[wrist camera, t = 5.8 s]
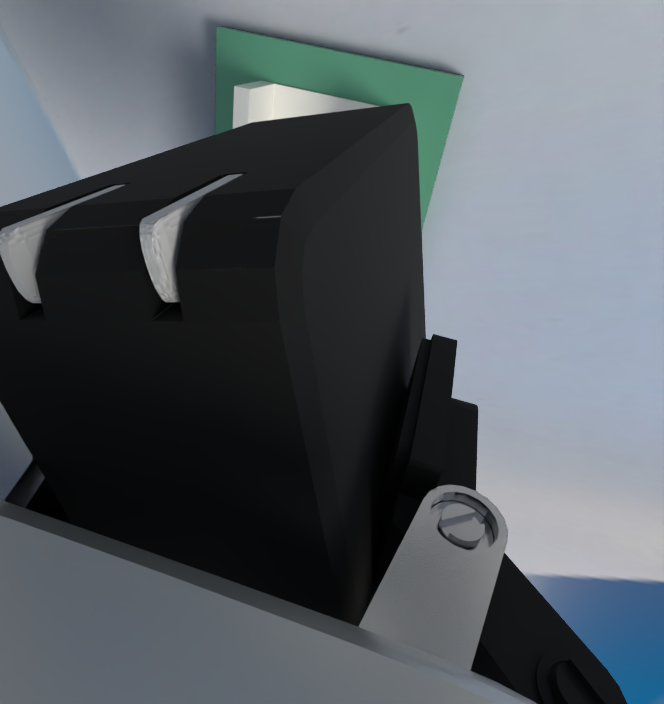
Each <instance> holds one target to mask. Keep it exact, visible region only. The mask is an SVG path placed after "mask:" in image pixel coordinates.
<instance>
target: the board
mask: <svg viewBox="0 0 664 704" xmlns="http://www.w3.org/2000/svg"><path fill="white" fill-rule="evenodd" d="M463 78H464V76H463V75H458V74H453V73H448V72H443V71H438V70H433V69H428V68H423V67H418V66H414V65H409V64H404V63H399V62H394V61H389V60H384V59H379V58H374V57H369V56H364V55H360V54H355V53H350V52H345V51H340V50H335V49H330V48H325V47H320V46H315V45H310V44H306V43H301V42H296V41H291V40H286V39H281V38H276V37H271V36H266V35H261V34H256V33H252V32H247V31H242V30H237V29H232V28H227V27H216V90H215V135H216V134H219V133H222V132H225V131H228V130H231V129H234V128H237V127H240V126H243V125H246V124H249V123H252V122H259V121H267V120H275V119H283V118H291V117H299V116H307V115H315V114H323V113H331V112H339V111H347V110H355V109H363V108H371V107H379V106H387V105H395V104H403V103H410V105H411V106H412V109H413V114H414V118H415V122H416V128H417V137H418V157H419V182H420V207H421V231H422V227H423V224H424V220H425V217H426V213H427V209H428V206H429V202H430V198H431V195H432V191H433V187H434V184H435V180H436V176H437V173H438V169H439V165H440V162H441V158H442V154H443V151H444V147H445V144H446V140H447V136H448V133H449V129H450V125H451V122H452V118H453V114H454V111H455V107H456V103H457V100H458V96H459V92H460V89H461V85H462V81H463Z"/></svg>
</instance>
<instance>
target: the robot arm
mask: <svg viewBox="0 0 664 704" xmlns="http://www.w3.org/2000/svg"><path fill="white" fill-rule="evenodd" d="M456 348H457V340H453V339H450V338H446V337H442V336H438V335H434V334H433V336H432V339H431V340H428V339H425V338H422V340H421V343H420V347H419V350H418V354H417V357H416V360H415V364H414V367H413V370H412V374H411V377H410V381H409V384H408V387H407V391H406V395H405V399H404V404H403V408H402V412H401V416H400V421H399V425H398V429H397V433H396V438H395V442H394V446H393V450H392V455H391V459H390V463H389V468H388V472H387V476H386V480H385V485H384V489H383V493H382V497H381V502H380V506H379V510H378V514H377V526H378V534H379V542H380V548H379V553H378V558H377V562H376V567H375V572H374V576H373V582H374V584H375V586H376V587H377V591H376V593H375V595H374V597H373V599H372V601H371V603H370V605H369V607H368V609H367V611H366V613H365V615H364V617H363V619H362V621H361V623H360V625H359V627H357V626H355V625H352V624H349V623H346V622H344V621H341V620H338V619H335V618H332V617H330V616H327V615H324V614H321V613H319V612H316V611H313V610H310V609H307V608H305V607H302V606H299V605H296V604H294V603H291V602H288V601H285V600H282V599H280V598H277V597H274V596H271V595H269V594H266V593H263V592H260V591H257V590H255V589H252V588H249V587H246V586H243V585H241V584H238V583H235V582H232V581H230V580H227V579H224V578H221V577H218V576H216V575H213V574H210V573H207V572H204V571H202V570H199V569H196V568H193V567H190V566H187V565H185V564H182V563H179V562H176V561H173V560H171V559H168V558H165V557H162V556H159V555H156V554H154V553H151V552H148V551H145V550H142V549H140V548H137V547H134V546H131V545H128V544H125V543H123V542H120V541H117V540H114V539H111V538H108V537H106V536H103V535H100V534H97V533H94V532H91V531H89V530H86V529H83V528H80V527H77V526H74V525H73V524H72V523H71V521H70V519H69V518H68V516H67V514H66V513H65V511H64V509H63V508H62V506H61V504H60V502H59V501H58V499H57V497H56V496H55V494H54V492H53V491H52V489H51V487H50V485H49V484H48V482H47V480H46V479H45V477H44V475H43V474H42V472H41V470H40V468H39V467H38V465H37V463H36V460H35V457H32V455H31V453H30V451H29V450H28V448H27V446H26V445H25V443H24V441H23V440H22V438H21V436H20V434H19V433H18V431H17V429H16V428H15V426H14V424H13V423H12V421H11V419H10V418H9V416H8V414H7V412H6V411H5V409H4V407H3V406H2V404H1V402H0V704H627V702H626V700H625V698H624V696H623V694H622V692H621V690H620V687H619V686H618V684H617V683H616V682H615V680H614V679H613V677H612V676H611V675H610V673H609V672H608V670H607V669H606V668H605V667H604V666H603V665H602V663H601V662H600V661H599V660H598V659H597V658H596V657H595V656H594V654H593V653H592V652H591V651H590V650H589V649H588V648H587V646H586V645H585V644H584V643H583V642H582V641H581V640H580V639H579V637H578V636H577V635H576V634H575V633H574V632H573V630H572V629H571V628H570V627H569V626H568V625H567V624H566V623H565V621H564V620H563V619H562V618H561V617H560V616H559V614H558V613H557V612H556V611H555V610H554V609H553V608H552V607H551V605H550V604H549V603H548V602H547V601H546V600H545V599H544V597H543V596H542V595H541V594H540V593H539V592H538V591H537V589H536V588H535V587H534V586H533V585H532V584H531V583H530V582H529V580H528V579H527V578H526V577H525V576H524V575H523V573H522V572H521V571H520V570H519V569H518V568H517V567H516V565H515V564H514V563H513V562H512V561H511V560H510V559H509V558H508V556H507V555H506V554H505V553H504V551H505V548H506V544H507V538H508V529H507V526H506V522H505V519H504V517H503V516H502V514H501V513H500V511H499V510H498V508H497V507H496V506H495V505H494V504H493V503H492V502H491V501H490V500H489V499H488V498H486V497H485V496H483V495H481V494H480V493H478V492H477V491H476V467H477V431H478V406H477V405H475V404H471V403H468V402H464V401H461V400H457V399H453V398H451V396H452V387H453V377H454V367H455V358H456Z"/></svg>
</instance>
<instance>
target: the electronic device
mask: <svg viewBox="0 0 664 704" xmlns="http://www.w3.org/2000/svg"><path fill="white" fill-rule="evenodd" d="M422 338H425V339H426V333H425V308H424V283H423V258H422V232H421V207H420V182H419V157H418V137H417V128H416V122H415V118H414V114H413V109H412V106H411V105H410V103H403V104H395V105H387V106H379V107H371V108H363V109H355V110H347V111H339V112H331V113H323V114H315V115H307V116H299V117H291V118H283V119H275V120H267V121H259V122H252V123H249V124H246V125H243V126H240V127H237V128H234V129H231V130H228V131H225V132H222V133H219V134H216V135H213V136H210V137H207V138H204V139H201V140H198V141H195V142H192V143H189V144H186V145H183V146H180V147H177V148H174V149H171V150H168V151H165V152H162V153H160V154H157V155H154V156H151V157H148V158H145V159H142V160H139V161H136V162H133V163H130V164H127V165H124V166H121V167H118V168H115V169H112V170H109V171H106V172H103V173H100V174H97V175H94V176H91V177H88V178H85V179H82V180H79V181H76V182H74V183H70V184H67V185H64V186H61V187H58V188H56V189H52V190H49V191H46V192H43V193H40V194H37V195H34V196H31V197H29V198H26V199H23V200H20V201H17V202H14V203H11V204H8V205H5V206H2V207H0V402H1V404H2V406H3V407H4V409H5V411H6V412H7V414H8V416H9V418H10V419H11V421H12V423H13V424H14V426H15V428H16V429H17V431H18V433H19V434H20V436H21V438H22V440H23V441H24V443H25V445H26V446H27V448H28V450H29V451H30V453H31V455H32V457H35V460H36V463H37V465H38V467H39V468H40V470H41V472H42V474H43V475H44V477H45V479H46V480H47V482H48V484H49V485H50V487H51V489H52V491H53V492H54V494H55V496H56V497H57V499H58V501H59V502H60V504H61V506H62V508H63V509H64V511H65V513H66V514H67V516H68V518H69V519H70V521H71V523H72V524H73V525H74V526H77V527H80V528H83V529H86V530H89V531H91V532H94V533H97V534H100V535H103V536H106V537H108V538H111V539H114V540H117V541H120V542H123V543H125V544H128V545H131V546H134V547H137V548H140V549H142V550H145V551H148V552H151V553H154V554H156V555H159V556H162V557H165V558H168V559H171V560H173V561H176V562H179V563H182V564H185V565H187V566H190V567H193V568H196V569H199V570H202V571H204V572H207V573H210V574H213V575H216V576H218V577H221V578H224V579H227V580H230V581H232V582H235V583H238V584H241V585H243V586H246V587H249V588H252V589H255V590H257V591H260V592H263V593H266V594H269V595H271V596H274V597H277V598H280V599H282V600H285V601H288V602H291V603H294V604H296V605H299V606H302V607H305V608H307V609H310V610H313V611H316V612H319V613H321V614H324V615H327V616H330V617H332V618H335V619H338V620H341V621H344V622H346V623H349V624H352V625H355V626H357V627H359V625H360V623H361V621H362V619H363V617H364V615H365V613H366V611H367V609H368V607H369V605H370V603H371V601H372V599H373V597H374V595H375V593H376V591H377V587H376V586H375V584H374V582H373V576H374V572H375V567H376V562H377V558H378V553H379V548H380V542H379V534H378V526H377V514H378V510H379V506H380V502H381V497H382V493H383V489H384V485H385V480H386V476H387V472H388V468H389V463H390V459H391V455H392V450H393V446H394V442H395V438H396V433H397V429H398V425H399V421H400V416H401V412H402V408H403V404H404V399H405V395H406V391H407V387H408V384H409V381H410V377H411V374H412V370H413V367H414V364H415V360H416V357H417V354H418V350H419V347H420V343H421V340H422Z"/></svg>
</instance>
